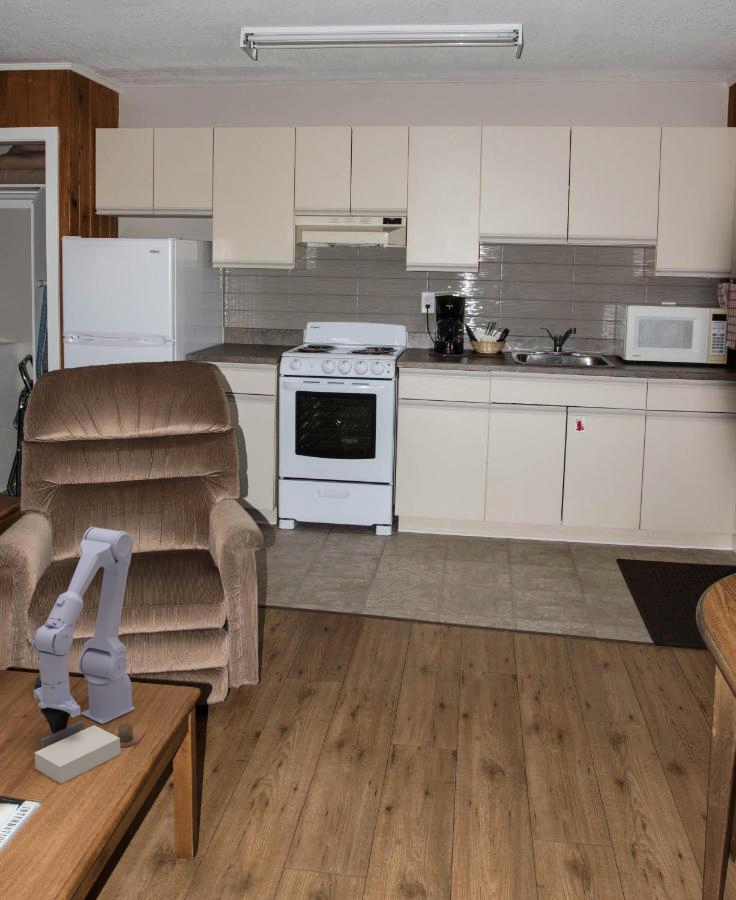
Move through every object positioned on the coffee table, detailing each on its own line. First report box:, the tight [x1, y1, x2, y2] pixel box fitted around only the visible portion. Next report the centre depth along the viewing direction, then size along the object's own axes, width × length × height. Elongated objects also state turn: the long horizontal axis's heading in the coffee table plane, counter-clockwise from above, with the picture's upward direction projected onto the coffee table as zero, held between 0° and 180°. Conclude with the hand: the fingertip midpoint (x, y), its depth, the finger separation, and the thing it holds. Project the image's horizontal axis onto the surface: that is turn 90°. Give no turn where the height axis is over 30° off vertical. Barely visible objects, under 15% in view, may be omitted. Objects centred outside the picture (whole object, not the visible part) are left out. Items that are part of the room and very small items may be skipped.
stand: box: [116, 722, 140, 749], centre depth 210 cm, size 6×6×4 cm
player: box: [34, 725, 121, 785], centre depth 201 cm, size 9×15×4 cm, turn 142°
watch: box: [34, 655, 42, 690], centre depth 232 cm, size 6×8×11 cm
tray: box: [40, 720, 85, 749], centre depth 204 cm, size 9×10×3 cm
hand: (59, 736), depth 208 cm, fingers closed
